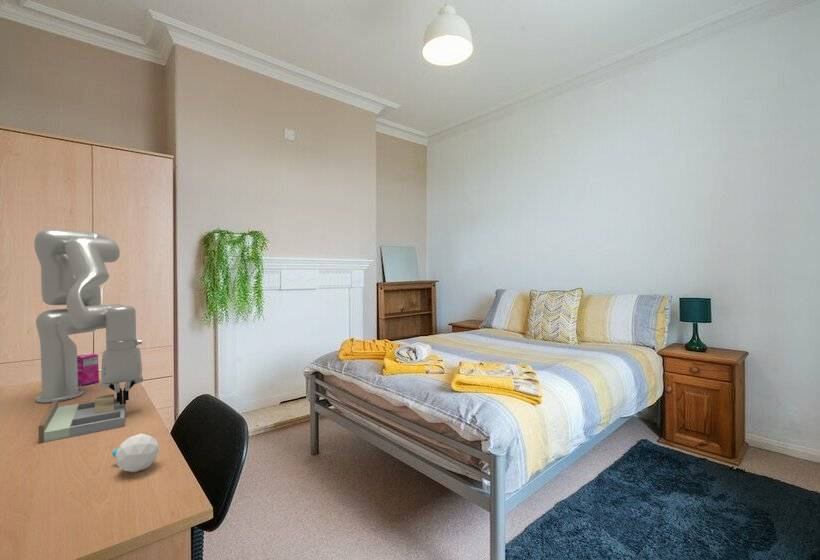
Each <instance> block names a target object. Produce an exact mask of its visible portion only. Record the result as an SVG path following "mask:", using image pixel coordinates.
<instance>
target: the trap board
mask: <svg viewBox="0 0 820 560" xmlns="http://www.w3.org/2000/svg"><path fill="white" fill-rule="evenodd" d="M126 405H127V403H126V404H122V405H120V402H117V397H114V411H108V412H102V413H97V414H95V400H94V401H88V402H82V403H76V404H69V405H63V406H62V405H61V406H59V401H53V402H51V404H50V407H49V408H48V409H47V411H46V412H45V415H44V416H43V418H42V420H41V421H40V423H39V424H38V444H39V443H46V442H51V441H56V440H61V439H66V438H70V437H71V438H73V437H76V436H81V435H86V434H91V433H97V432H101V431H106V430H112V429H116V428H117V429H118V428H123V427H125V426H126V425H125V424H126V421H125V420H126V409H127V408H126V407H127V406H126Z"/></svg>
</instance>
